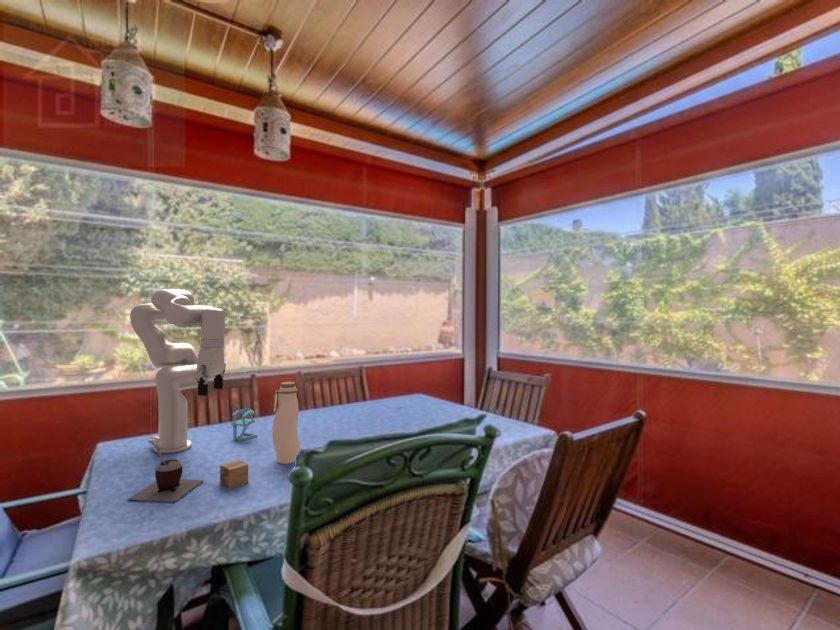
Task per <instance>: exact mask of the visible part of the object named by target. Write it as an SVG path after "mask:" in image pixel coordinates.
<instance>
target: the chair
mask: <svg viewBox="0 0 840 630" xmlns="http://www.w3.org/2000/svg"><path fill="white" fill-rule="evenodd" d="M238 414H241V419H239V420H237V418H236V416H237V415H238ZM254 414H255V411H254V410H253V409H251V408H247V407H246V408H243V409H242V408H241V409H238V410H236V411H235V412H234V413H232V418H233V421H232V422H231V426H232V429H233V434H232V435H233V439H232V441H233V442H236V441H240V442H243V441H246V439H247V440H250V439H254V438H257V437H258V433H250V432H246V431H247V429H248V428H249V426H250V425H252V424H254V423H256V420H255V419H254V418H253V417H254ZM249 415H250V419H248V418H247V416H249ZM238 426H240V427H242V428H243V429H242V431H241V432H240V433H239V434H238V435H237V432H238V431H237V428H238ZM243 436H244V437H243ZM235 440H236V441H235ZM242 440H243V441H242Z"/></svg>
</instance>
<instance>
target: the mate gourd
mask: <svg viewBox="0 0 840 630" xmlns="http://www.w3.org/2000/svg"><path fill="white" fill-rule="evenodd" d="M147 443H149V444H150V445H153V447H156V450H157V451H158V455H159V457H160V459H161V462H159V463H158V465H157V466H156V467H155V472H154V475H155V482H156V481H157V486H158V489H159V490H158V493H160V492H163V491H165V490H170V491H172V492H174V491H176V489H175V487H177V486H180V483H179V481H180V479H182V476H183V472H184V471H183V464H182V463H181V461H180V460H179V459H174V458H173V459H167V460H165V459H164V457H163V454H162V453H161V452H160V450H159V447H158V446H157V445H156V443H152V442H150V440H147Z"/></svg>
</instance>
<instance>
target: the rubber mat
mask: <svg viewBox="0 0 840 630" xmlns="http://www.w3.org/2000/svg"><path fill="white" fill-rule="evenodd" d="M203 482H204V480H203V479H202V480H201V479H185V478H183V479H182V478H180V481H179V483H180V486H177V487H175V489H176V491H174V492H172V491H170V490H165V491H163V492H160V493H158V490H159V489H158V486H157V481H156V480H155V481H154V482H153V483H151V484H149V485H147V486H146V487H145V488H143V489H141V490H140V491H138V492H136V493H135V494H134V495H132V496H130V497H129V498H127V501H128V500H138V501H137V502H144V501H161V502H160V503H167V502H176V503H177V502H179V501H180V500H181V499H182V497H183V496H184V495H185V496H187V495H188V494H189V493H191V492H192V491H194V489H196V488H197V487H198V486H199V485H201V484H202V483H203ZM195 487H196V488H195ZM191 490H192V491H191ZM188 492H189V493H188ZM187 493H188V494H187ZM185 496H184V497H185ZM184 497H183V498H184ZM179 499H180V500H179ZM178 500H179V501H178Z"/></svg>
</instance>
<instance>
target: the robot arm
mask: <svg viewBox="0 0 840 630" xmlns="http://www.w3.org/2000/svg"><path fill="white" fill-rule="evenodd" d="M150 301H151V303H141V304H137V305H135V306H134V307H132V308H131V311H130V314H129V315H130V316H129V318H130V320H129V321H130V325H131V327H132V330H133V331H134V334H136V336H137V337H138V338H139V339H140V340H141V342H142V345H143V346H144V348H145V350H146V352H147V356H148V357H149V359H150V361H151V363H152V365H153V367H155V368H156V369H159V370H158V371H157V372H156V374H155V376H154V379H155V381H154V382H155V385H156V392H157V401H158V405H157V409H158V436H157V435H153V436H151V437H149V438H150V439H149V441H150V442H152V443H154V444H155V445H157V446H158V447H159V450H160V452H161V454H174V453H178V452H182V451H186V450H188V449H190V448H191V447H192V441H191V440H188V401H187V398H186V396H184V394H183V393H182V391H183V390H189V389H196V388H197V396H201V397H207V396H208V394H209V383H208V381H209V379H210V378H213V389H216V390H223V388H224V378H225V372H226V366H227V364H226V363H225V351H224V350H225V349H224V348H225V332H226V329H225V327H226V311H225V310H224V309H222V308H217V307H214V306H212V305H194V304H195V297H194V295H193V293H191V292H190V291H189V290H186V289H172V288H171V289H170V288H164V289H158V290H156V291H155V292H153V294H152V295H151V297H150ZM156 325H157V326H156ZM158 325H174V326H175V327H178V328H200V336H199V337H200V342H199V343H200V344H199V349H198V353H197V350H196V349H195V347H194V346H193V345H192V344H190V343H188V342H187V343H186V342H178V343H177V342H176V343H174V342H173V343H172V342H171V341H170V339H169V337H168V335H167V334H166V332H164V331H163V330H162V329H160V328H159V327H158ZM153 452H155V453H156V454H157V453H158V451H157V450H156V447H155V446H153ZM158 454H159V453H158Z"/></svg>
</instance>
